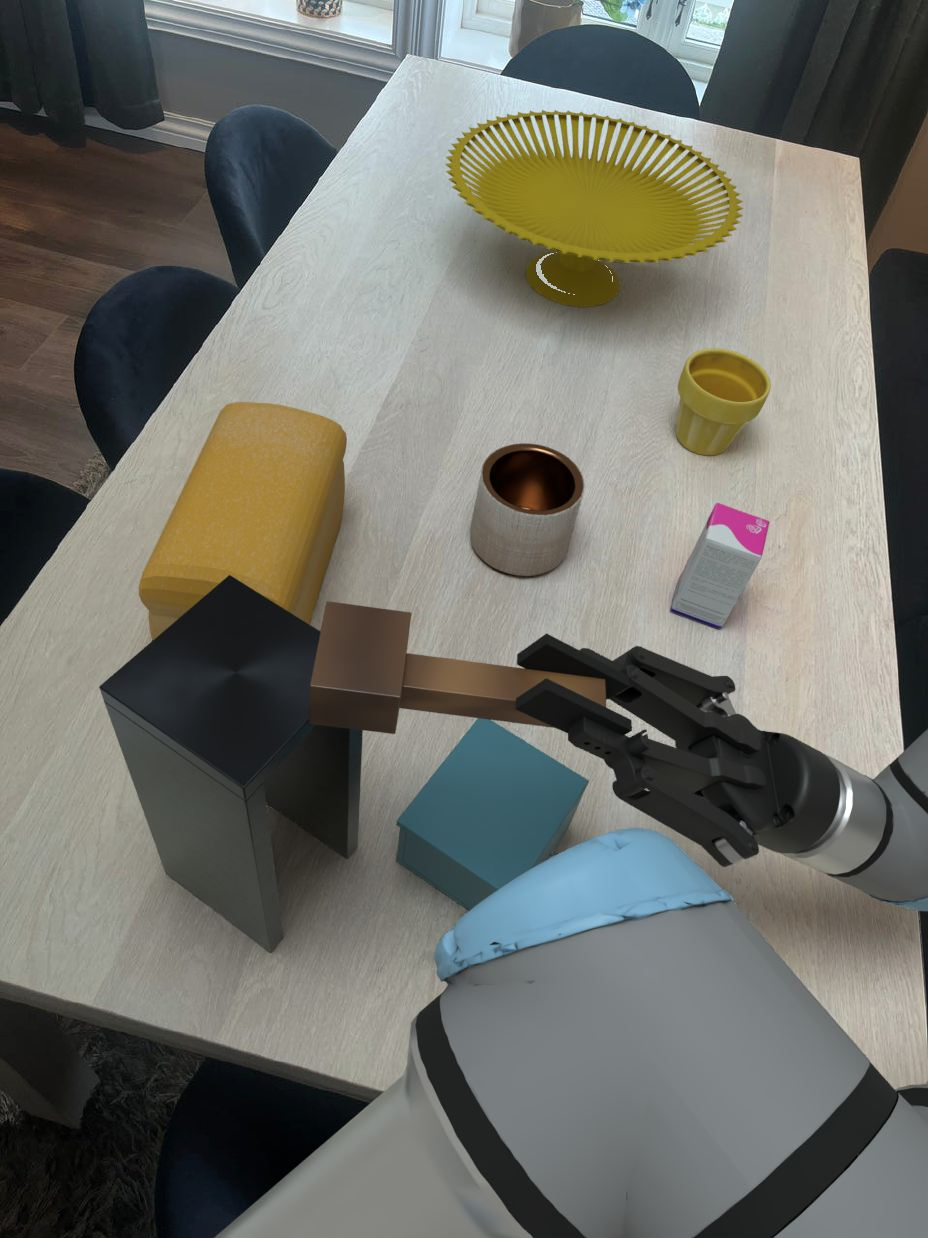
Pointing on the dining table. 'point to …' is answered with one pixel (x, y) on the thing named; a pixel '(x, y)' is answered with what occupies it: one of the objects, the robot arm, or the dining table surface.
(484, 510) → the planter
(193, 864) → the black arch block
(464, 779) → the lid
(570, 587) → the dining table surface
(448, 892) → the caddy
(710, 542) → the supplement box
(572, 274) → the cake stand
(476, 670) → the mallet
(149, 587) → the bread
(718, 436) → the flower pot
